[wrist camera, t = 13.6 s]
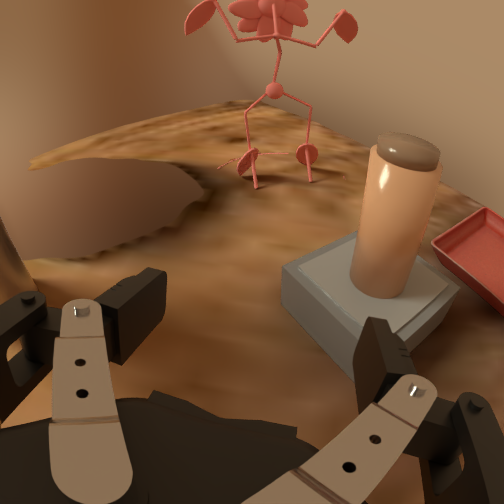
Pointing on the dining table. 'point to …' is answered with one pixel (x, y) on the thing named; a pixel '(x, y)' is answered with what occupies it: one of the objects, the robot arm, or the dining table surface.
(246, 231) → the dining table surface
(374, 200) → the jar
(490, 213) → the plant saucer
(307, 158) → the figurine
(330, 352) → the grey lidded square box
